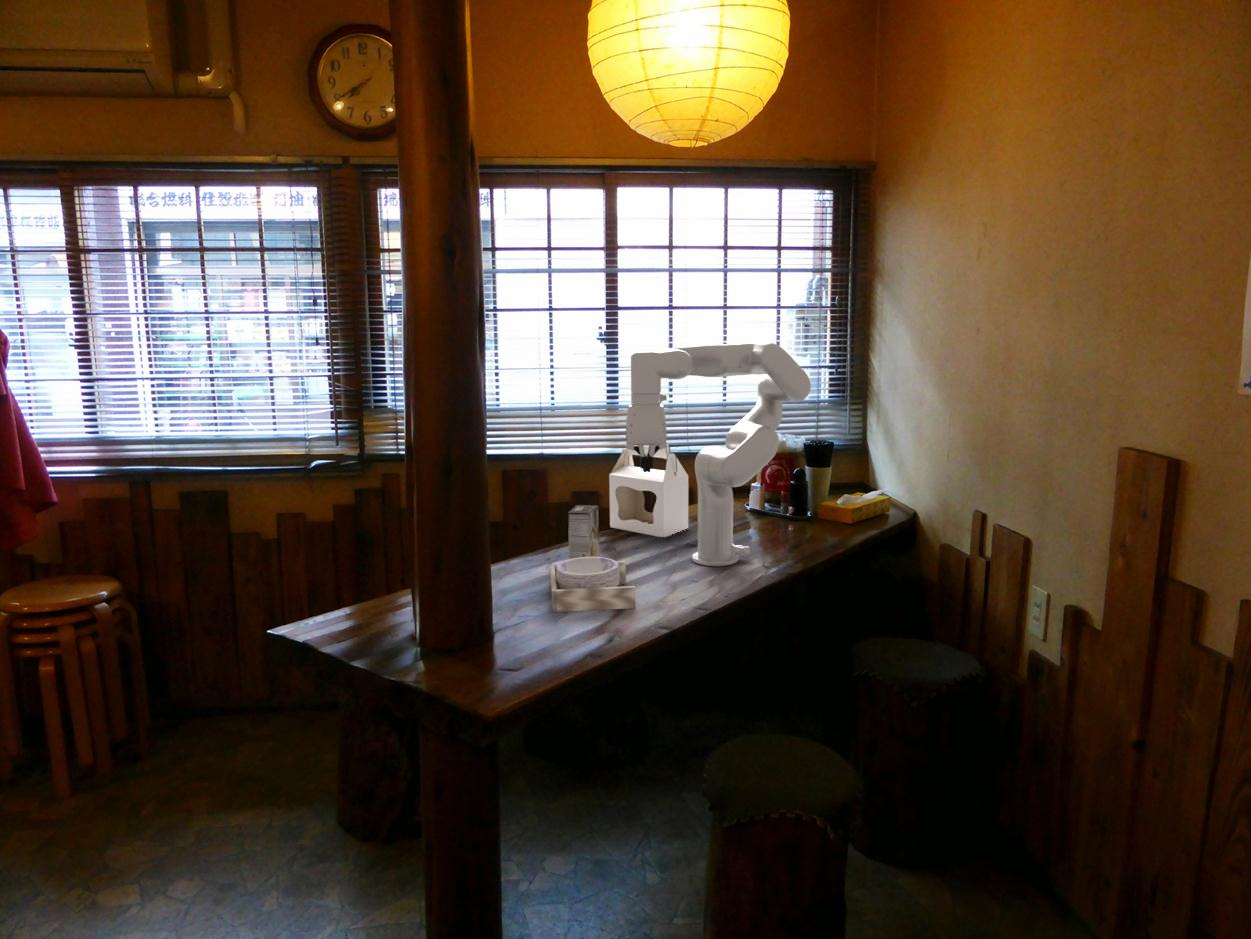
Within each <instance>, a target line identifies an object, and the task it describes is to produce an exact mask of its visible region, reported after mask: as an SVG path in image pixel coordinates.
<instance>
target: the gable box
mask: <svg viewBox="0 0 1251 939" xmlns="http://www.w3.org/2000/svg"><path fill="white" fill-rule="evenodd" d="M624 445H625V446H626V443H624ZM657 445H658V444H657ZM635 446H638V445H635ZM648 449H649V445H644V452H645V454H646V456H647V453H648ZM633 456H640V455H639V454H638V453H637V452H636V451H634V450H629V449H627V448H626V447H625V448H621V454H620V455H619V457H618V458H617V461H616V462H615V464H614V466H613V467H612V469H611V471H610V473H609V475H608V476H609V477H608V478H609V479H608V480H609V482H608V483H609V526H610V528H612V529H617V530H622V531H628V532H631V533H632V532H633V533H638V534H641V535H642V534H643V535H647V536H648V535H649V536H653V537H657V538H663V537H664V538H666V537H670V536H672V534H673V535H675V533H676V534H678V533H677V532H679V533H681V532H683V531H682V530H684V531H686V530H685V529H687V528H688V529H689V474H688V473H687V471H686V470H685V469H684V467H683V465H682V464H681V462H680V461H679V459H678V457H677V454H675V453H672V452H671V447H670V445H669V443H667V448H664V449H660V450H658V451H657V452H656V453H655V454H654V456H653V458H659V459H664V460H666V461H665V467H664V468H665V469H658V468H650V470H651V471H650V472H644V471H643V469H641V467H640V466H635V463H634V459H633ZM644 491H646V492H652V493H654V495H655V497H656V501H655V504H654V507H653V509H652V511H651V512H649V511H647V510H646V509H645V502H646V501H645V500H646V499H645V495H644ZM642 521H650V522H653V524H648V522H642ZM688 529H687V530H688ZM680 531H681V532H680Z"/></svg>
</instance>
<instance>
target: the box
mask: <svg viewBox="0 0 1251 939" xmlns="http://www.w3.org/2000/svg"><path fill="white" fill-rule="evenodd" d="M615 561H616V560H615ZM616 562H617V563H618V564H619V579H620V581H619V582H626V577H627V576H626V575H627V574H626V571H627V569H626V566H627V565H626V561H625V560H620V561H619V560H617V561H616ZM558 564H559V563H558ZM558 564H557V563H553V564H552V563H551V564H550V565H549V566H550V569H549V570H550V589H551V590H550V591H551V603H552V613H565V612H582V611H584V612H585V611H587V612H588V611H603V610H605V611H606V610H620V609H622V610H623V609H624V610H625V609H636V604H637V603H636V586H635V585H626V586H625V585H624V586H617V587H602V588H581V589H558V587H557V581H556V567H557V565H558Z"/></svg>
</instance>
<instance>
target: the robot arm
mask: <svg viewBox="0 0 1251 939" xmlns="http://www.w3.org/2000/svg"><path fill="white" fill-rule="evenodd" d="M747 375H761V376H760V377H759V380H758V383H757V401H756V404H755V406H754V407H753V408H752V409H751V410H750V411H749V412H748V413H747V414H746V415H745V416H744V417H743V418H742V419H741V420H740V421H738V422H737V423H736V424H735V425H734V426H732V427H731V429H730V430H729V431H728V432H727V433H726V436H725V439H724V440H725V441H724V444H725V447H723V446H717V445H711V446H710V445H709V446H706V447H703V448H702V449H701V450H700V451H699V452H698V453H697V455H696V456H695V461H694V472H695V478H696V484H697V551H696V552H694V553H693V554H692V555H691V556H692V557H691V559H692V561H693V563H695V564H698V565H703V566H708V567H725V566H730V565H733V564H736V563H737V562H738V561H739V554H750V553H751V552H750V551H751V548H750V546H744V545H743V544H740V545H738V544H737V545H735V543H733V541H734V539H733V538H734V534H733V530H734V492H733V489H732V488H737V487H741V486H744V485H745V484H747V483H748V482H749V481H751V480H752V478H754V477H755V476H756V475H758V473H759V472H760V471H762V469H763V468H764V467H766V466H767V465H768V463H770V462H771V461H772V459H773V458H774V457H775V456H776V454H777V452H778V449H779V446H780V438H779V435H778V433H777V432H776V430H777V429H778V428H779V427H780V425H781V422H782V420H783V402H790V403H799V402H802V401H804V400H806V399H807V397H808V396H809V394H810V393H811V388H812V384H811V380H810V378H809V376H808V374H807V373H806V372H805V371H804V369H803V368H802V367H801V366H800V365H799V363H798V362H796V361H795V359H793V357H792V356H791V355H790V354H789V352H787V351H786V350H784V348H783V347H782V346H780V345H778V344H776V343H774V342H742V343H741V342H740V343H725V344H722V343H721V344H709V345H701V346H688V347H673V348H672V347H670V348H668V347H667V348H657V349H655V350H639V351H633V353H632V354H631V355H630V397H631V398H630V401H631V402H630V404H629V405H628V406H627V411H626V419H625V420H626V421H625V422H626V423H625V440H626V441H625V444H626V446H625V449H626V448H627V449H629V450H634V451H636V452H637V453H638V454H639V455H638V456H639V457H640V458H639V459H640V462H639V463H640V465H639V467H641V469H643V471H644V472H650V471H651V470H650V469H654V468H653V467H654V465H653V463H654V457H653V456H654V454H655V453H656V452H657V451H658V450H660V449H664V448H667V444H668V442H667V436H668V435H667V434H668V433H667V420H666V413H665V407H664V405H663V404H662V403H663V402H664V401H667V400H668V399H667V395H665V394H662V390H661V389H662V388H661V387H662V379H668V380H669V379H670V380H681V379H684V378H686V377H688V376H697V377H703V378H704V377H705V378H721V377H722V378H723V377H733V376H747ZM657 444H658V445H657ZM635 445H638V446H635ZM644 445H649V449H648V453H647V456H646V454H645V452H644Z"/></svg>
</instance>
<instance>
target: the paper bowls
mask: <svg viewBox="0 0 1251 939" xmlns="http://www.w3.org/2000/svg"><path fill="white" fill-rule="evenodd" d="M556 581H557V584H556V588H557V589H558V590H560V589H581V588H602V587H619V586H620V582H621V581H620V579H619V564H618V563H617V562H616V560H614V559H612V558H609V557H603V556H600V557H580V558H574V559H569V558H568V559H566V560H564V561H561V562H559V563H558V565H557V567H556Z"/></svg>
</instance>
